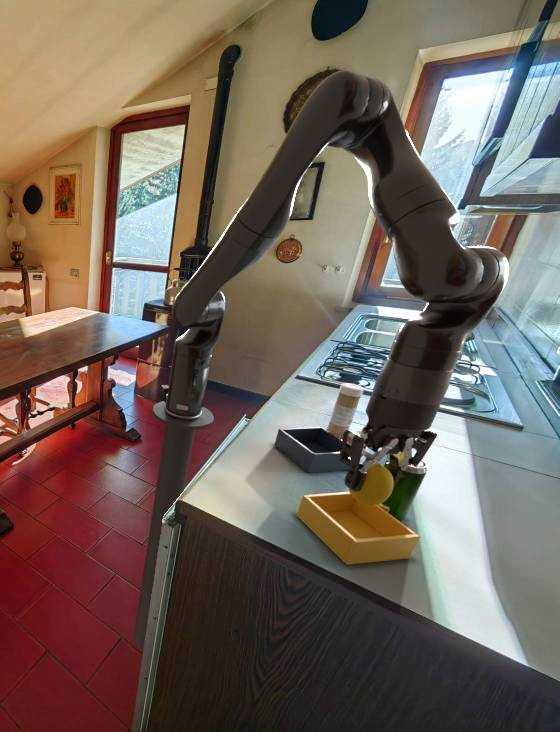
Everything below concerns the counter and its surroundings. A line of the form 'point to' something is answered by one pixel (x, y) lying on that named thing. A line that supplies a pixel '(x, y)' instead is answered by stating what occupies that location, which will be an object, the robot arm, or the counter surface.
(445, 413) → the counter surface
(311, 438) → the slate bin
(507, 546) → the counter surface
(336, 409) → the sprinkles bottle
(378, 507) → the yellow bin
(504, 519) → the counter surface
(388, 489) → the lemon
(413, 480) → the beer can
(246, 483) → the counter surface
